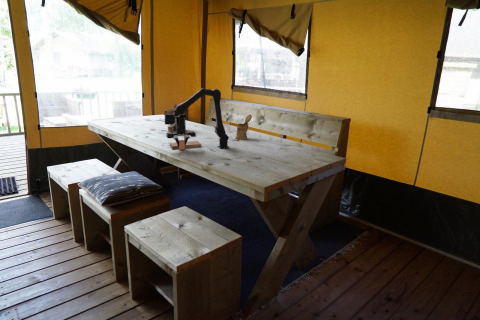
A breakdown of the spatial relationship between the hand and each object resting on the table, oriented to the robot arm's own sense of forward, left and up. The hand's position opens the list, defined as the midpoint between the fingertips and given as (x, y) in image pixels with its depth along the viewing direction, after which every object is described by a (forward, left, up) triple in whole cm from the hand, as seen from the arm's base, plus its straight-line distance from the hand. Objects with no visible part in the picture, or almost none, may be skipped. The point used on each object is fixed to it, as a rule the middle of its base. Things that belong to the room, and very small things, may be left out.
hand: (181, 147), depth 222 cm
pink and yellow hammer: (+4, 0, -1) cm, 5 cm away
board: (+8, -4, -2) cm, 9 cm away
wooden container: (+62, -9, -2) cm, 63 cm away
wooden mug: (+18, -52, -2) cm, 56 cm away
